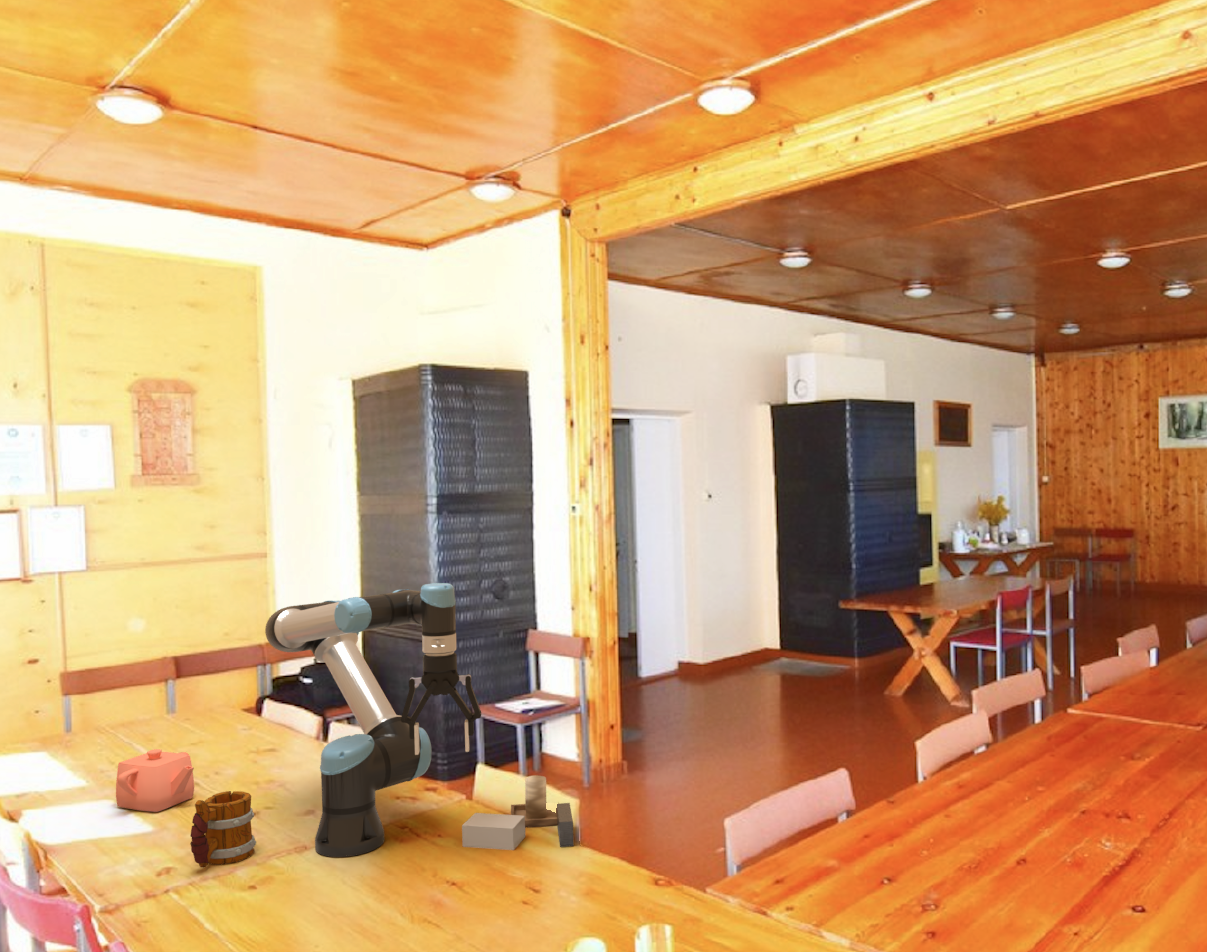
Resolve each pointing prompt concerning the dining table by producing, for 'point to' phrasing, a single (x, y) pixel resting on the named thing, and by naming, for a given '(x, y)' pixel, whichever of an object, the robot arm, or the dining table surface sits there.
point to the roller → (535, 797)
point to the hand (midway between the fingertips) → (442, 751)
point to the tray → (548, 821)
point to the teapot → (154, 781)
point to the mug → (222, 829)
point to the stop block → (565, 825)
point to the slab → (493, 831)
